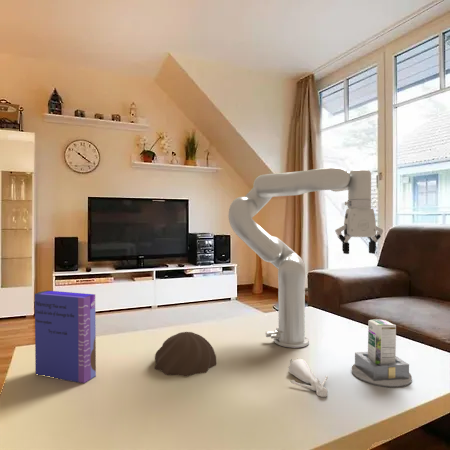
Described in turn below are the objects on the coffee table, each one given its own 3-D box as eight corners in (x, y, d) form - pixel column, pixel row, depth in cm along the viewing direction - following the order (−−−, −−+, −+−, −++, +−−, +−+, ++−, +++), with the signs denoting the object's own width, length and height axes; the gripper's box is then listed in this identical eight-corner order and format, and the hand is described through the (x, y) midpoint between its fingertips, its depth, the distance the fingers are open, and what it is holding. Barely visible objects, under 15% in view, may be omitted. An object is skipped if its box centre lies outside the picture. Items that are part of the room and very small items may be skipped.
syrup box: (366, 367, 107) (367, 319, 107) (385, 366, 108) (385, 318, 107) (377, 376, 101) (377, 325, 101) (396, 375, 102) (396, 324, 102)
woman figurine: (311, 353, 109) (345, 383, 92) (311, 367, 109) (345, 400, 92) (276, 357, 106) (304, 389, 89) (276, 371, 106) (304, 406, 89)
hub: (369, 389, 95) (370, 371, 95) (342, 365, 111) (342, 349, 111) (424, 385, 97) (424, 367, 97) (389, 362, 113) (389, 347, 113)
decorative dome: (227, 359, 116) (227, 328, 116) (191, 383, 99) (191, 347, 99) (180, 348, 126) (180, 320, 126) (140, 368, 109) (140, 335, 109)
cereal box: (95, 376, 103) (95, 293, 103) (84, 383, 98) (83, 297, 98) (48, 368, 109) (47, 289, 108) (35, 374, 104) (34, 292, 104)
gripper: (340, 204, 121) (340, 254, 121) (388, 204, 123) (388, 254, 123) (331, 205, 128) (331, 252, 128) (376, 205, 130) (376, 252, 131)
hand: (359, 253), depth 126 cm, fingers open, 9 cm apart
